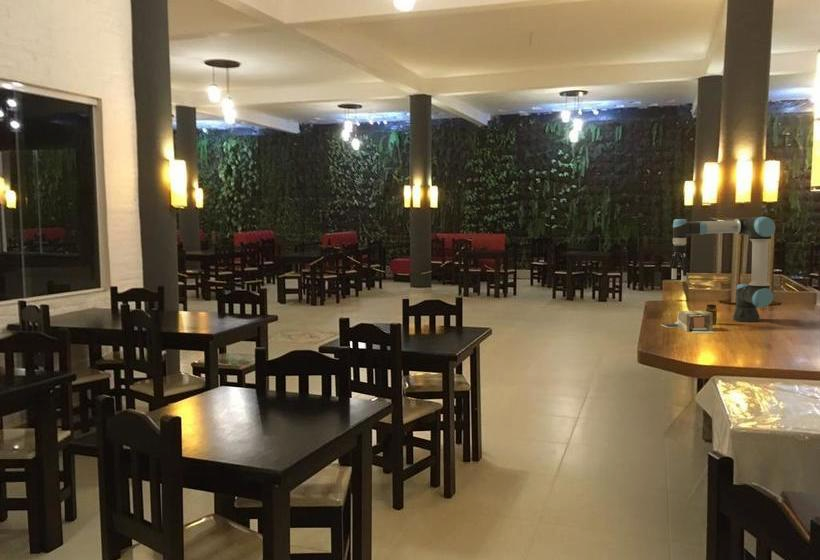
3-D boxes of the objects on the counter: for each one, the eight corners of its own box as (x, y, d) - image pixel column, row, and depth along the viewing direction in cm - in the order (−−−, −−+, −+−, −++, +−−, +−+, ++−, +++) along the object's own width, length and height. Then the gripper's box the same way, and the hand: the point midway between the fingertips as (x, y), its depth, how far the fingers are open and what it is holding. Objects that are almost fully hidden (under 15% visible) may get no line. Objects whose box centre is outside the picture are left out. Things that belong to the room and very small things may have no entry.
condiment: (719, 324, 421) (719, 304, 420) (711, 325, 417) (711, 306, 415) (708, 322, 427) (709, 303, 426) (700, 324, 423) (700, 304, 422)
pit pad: (688, 324, 423) (688, 323, 423) (696, 326, 413) (696, 326, 413) (661, 325, 423) (661, 324, 423) (667, 327, 413) (668, 327, 413)
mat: (709, 331, 398) (709, 330, 398) (715, 333, 391) (715, 332, 391) (691, 331, 398) (691, 331, 398) (696, 333, 391) (696, 333, 391)
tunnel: (703, 327, 411) (703, 310, 410) (712, 330, 400) (712, 313, 399) (678, 328, 410) (678, 311, 409) (686, 331, 399) (686, 313, 398)
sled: (688, 323, 423) (688, 311, 422) (707, 329, 398) (707, 317, 398) (675, 323, 423) (675, 312, 422) (693, 330, 398) (693, 318, 397)
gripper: (664, 244, 426) (664, 278, 427) (682, 245, 401) (681, 282, 403) (676, 243, 426) (676, 278, 428) (695, 245, 401) (694, 282, 403)
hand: (678, 280), depth 415 cm, fingers open, 13 cm apart
